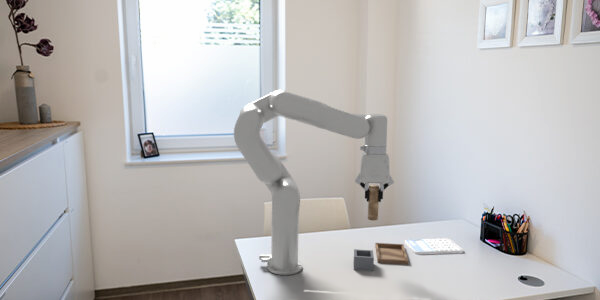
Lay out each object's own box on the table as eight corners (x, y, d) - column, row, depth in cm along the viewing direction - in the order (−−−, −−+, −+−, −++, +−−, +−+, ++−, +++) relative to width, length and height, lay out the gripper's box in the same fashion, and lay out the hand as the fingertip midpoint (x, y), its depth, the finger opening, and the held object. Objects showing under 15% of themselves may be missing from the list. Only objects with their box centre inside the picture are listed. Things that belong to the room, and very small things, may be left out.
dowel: (367, 220, 164) (369, 187, 162) (367, 216, 168) (368, 184, 166) (378, 220, 164) (379, 187, 162) (377, 217, 167) (378, 185, 165)
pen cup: (353, 271, 164) (354, 256, 163) (353, 263, 171) (354, 249, 170) (373, 272, 163) (373, 257, 162) (372, 264, 170) (372, 250, 169)
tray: (408, 266, 169) (408, 260, 169) (377, 264, 170) (378, 259, 170) (402, 249, 185) (403, 244, 185) (375, 247, 186) (375, 242, 186)
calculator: (464, 254, 183) (464, 249, 182) (415, 255, 180) (415, 251, 180) (449, 241, 196) (449, 237, 195) (403, 242, 193) (403, 238, 193)
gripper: (351, 151, 159) (350, 203, 162) (400, 152, 157) (398, 204, 160) (351, 147, 166) (350, 197, 169) (398, 148, 164) (396, 198, 167)
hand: (373, 200), depth 165 cm, fingers closed on dowel, 3 cm apart
